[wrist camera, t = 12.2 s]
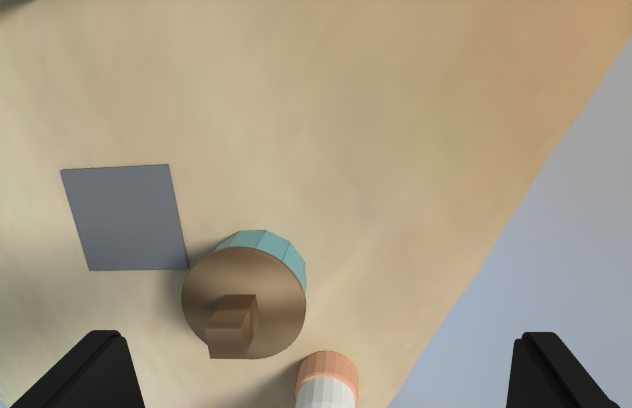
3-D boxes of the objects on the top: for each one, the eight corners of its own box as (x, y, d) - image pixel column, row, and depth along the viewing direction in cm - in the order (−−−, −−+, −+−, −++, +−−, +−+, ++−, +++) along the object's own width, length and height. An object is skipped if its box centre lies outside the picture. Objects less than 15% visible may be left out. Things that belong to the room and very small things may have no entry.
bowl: (205, 231, 40) (182, 254, 34) (301, 229, 38) (294, 252, 33) (220, 314, 43) (201, 347, 38) (309, 315, 42) (303, 348, 36)
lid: (175, 247, 34) (140, 280, 29) (300, 244, 33) (290, 278, 27) (197, 351, 38) (170, 398, 32) (310, 352, 37) (302, 402, 31)
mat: (62, 169, 39) (59, 170, 38) (168, 164, 37) (166, 165, 37) (92, 269, 43) (89, 270, 42) (189, 267, 41) (187, 269, 41)
